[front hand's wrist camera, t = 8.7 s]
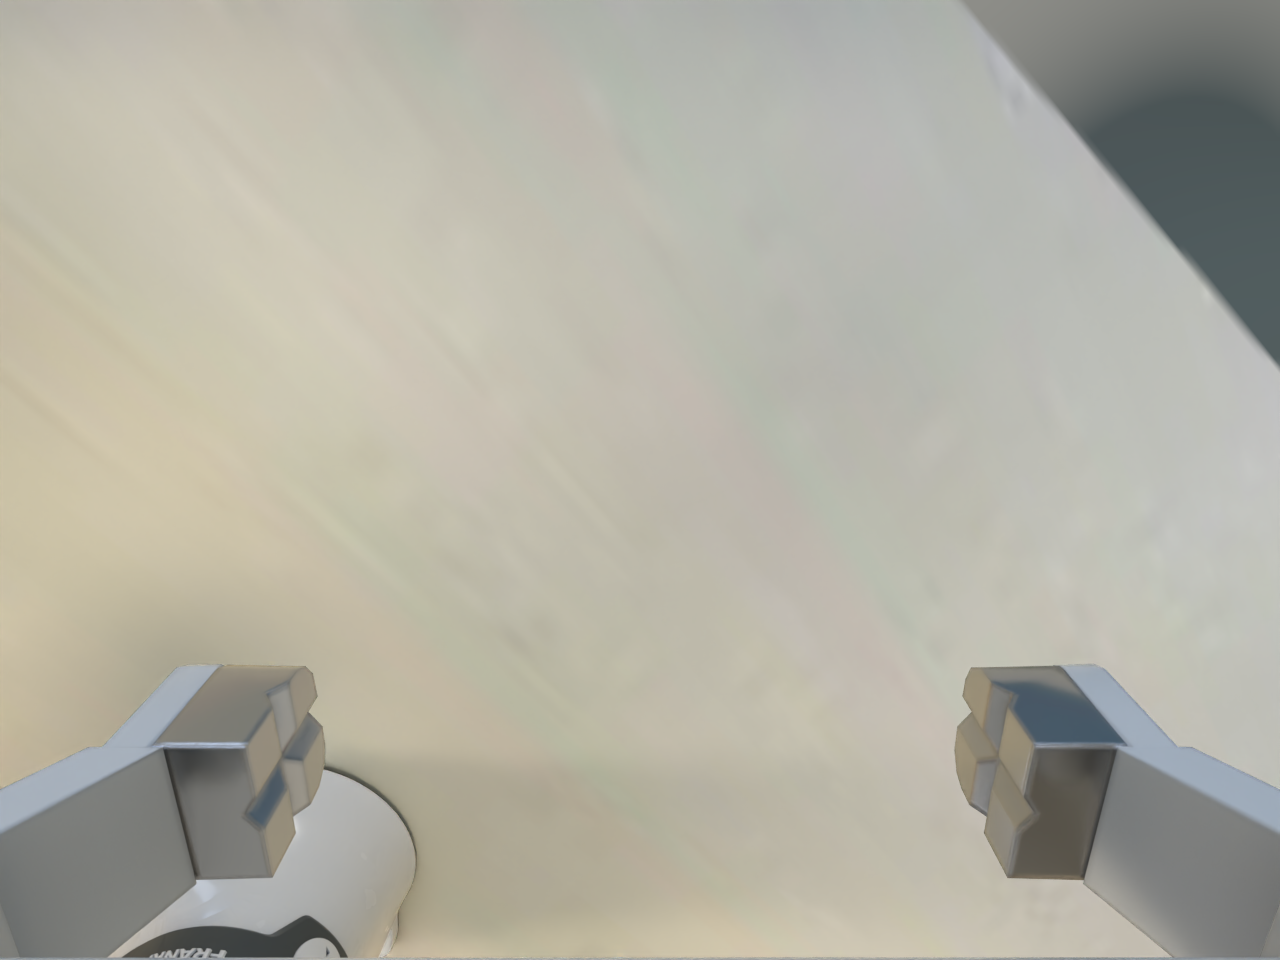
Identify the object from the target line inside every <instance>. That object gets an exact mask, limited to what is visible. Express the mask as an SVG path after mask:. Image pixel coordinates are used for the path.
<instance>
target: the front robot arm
mask: <svg viewBox="0 0 1280 960" xmlns="http://www.w3.org/2000/svg"><path fill="white" fill-rule="evenodd" d="M316 698H317V691H316V686H315V681H314V677H313V673H312V672H311V671H310V670H309V669H308V668H307V667H306V666H267V665H222V664H203V665H184V666H181V667H177V668H176V669H175V670H174V671H173V672H172V673H171V674H170V675H169V676H168V677H167V678H166V679H165V680H164V681H163V682H162V684H161V685H160V686H159V687H158V688H157V689H156V690H155V691H154V692H153V693H152V694H151V695H150V696H149V697H148V699H147V700H146V701H145V702H144V703H143V704H142V705H141V706H140V707H139V708H138V709H137V710H136V711H135V712H134V714H133V715H132V716H131V717H130V718H129V719H128V720H127V721H126V722H125V723H124V724H123V725H122V726H121V727H120V728H119V730H118V731H117V732H116V733H115V734H114V735H113V736H112V737H111V738H110V739H109V740H108V741H107V742H106V743H105V745H104V746H103V747H88V748H86V749H84V750H82V751H79V752H77V753H75V754H73V755H71V756H69V757H67V758H65V759H63V760H61V761H59V762H57V763H54V764H52V765H50V766H48V767H46V768H44V769H42V770H40V771H38V772H36V773H34V774H32V775H29V776H27V777H25V778H23V779H21V780H19V781H17V782H15V783H13V784H11V785H9V786H6V787H4V788H2V789H0V960H1280V789H1277V788H1275V787H1273V786H1271V785H1269V784H1267V783H1265V782H1263V781H1261V780H1259V779H1257V778H1255V777H1253V776H1250V775H1248V774H1246V773H1244V772H1242V771H1240V770H1238V769H1236V768H1234V767H1232V766H1230V765H1228V764H1225V763H1223V762H1221V761H1219V760H1217V759H1215V758H1213V757H1211V756H1209V755H1207V754H1205V753H1203V752H1201V751H1198V750H1196V749H1194V748H1192V747H1177V746H1176V744H1175V743H1174V742H1173V741H1172V740H1171V739H1170V738H1169V737H1168V736H1167V735H1166V734H1165V733H1164V732H1163V731H1162V729H1161V728H1160V727H1159V726H1158V725H1157V724H1156V723H1155V722H1154V721H1153V720H1152V719H1151V718H1150V717H1149V716H1148V714H1147V713H1146V712H1145V711H1144V710H1143V709H1142V708H1141V707H1140V706H1139V705H1138V704H1137V703H1136V702H1135V701H1134V700H1133V698H1132V697H1131V696H1130V695H1129V694H1128V693H1127V692H1126V691H1125V690H1124V689H1123V688H1122V687H1121V686H1120V685H1119V683H1118V682H1117V681H1116V680H1115V679H1114V678H1113V677H1112V676H1111V675H1110V674H1109V673H1108V672H1107V671H1106V670H1105V669H1104V668H1102V667H1100V666H1098V665H1095V664H1077V665H1053V666H1023V667H974V668H971V669H970V671H969V673H968V675H967V677H966V679H965V685H964V690H963V698H964V700H965V701H966V703H967V705H968V706H969V708H970V710H971V711H972V712H971V713H970V714H969V715H968V716H967V717H966V718H965V719H964V720H963V721H962V722H961V723H960V724H959V725H958V726H957V734H956V742H955V760H956V771H957V775H958V778H959V782H960V785H961V789H962V791H963V793H964V795H965V797H966V799H967V801H968V803H969V805H971V806H972V807H973V808H975V809H976V810H978V811H979V812H981V813H982V814H984V815H985V816H986V817H987V819H986V824H985V830H984V834H985V836H986V838H987V840H988V842H989V844H990V845H991V847H992V849H993V851H994V853H995V855H996V857H997V859H998V861H999V863H1000V864H1001V866H1002V868H1003V870H1004V872H1005V874H1006V876H1007V878H1029V879H1064V880H1084V882H1083V884H1084V885H1086V886H1087V887H1088V888H1089V889H1090V890H1092V891H1093V892H1094V893H1095V894H1097V895H1098V896H1099V897H1100V898H1101V899H1103V900H1104V901H1105V902H1106V903H1107V904H1109V905H1110V906H1111V907H1112V908H1114V909H1115V910H1116V911H1117V912H1118V913H1120V914H1121V915H1122V916H1123V917H1125V918H1126V919H1127V920H1128V921H1129V922H1131V923H1132V924H1133V925H1134V926H1135V927H1137V928H1138V929H1139V930H1140V931H1142V932H1143V933H1144V934H1145V935H1146V936H1148V937H1149V938H1150V939H1151V940H1153V941H1154V942H1155V943H1156V944H1157V945H1159V946H1160V947H1161V948H1162V949H1163V950H1165V951H1166V952H1167V953H1168V954H1170V955H1171V956H1172V957H1165V958H861V957H727V958H381V957H384V956H386V955H387V954H389V953H390V951H391V949H392V947H393V945H394V943H395V940H396V938H397V934H398V910H399V908H400V906H401V905H402V903H403V901H404V899H405V897H406V895H407V894H408V892H409V890H410V888H411V885H412V883H413V879H414V876H415V869H416V856H415V850H414V846H413V842H412V839H411V837H410V834H409V832H408V830H407V828H406V826H405V825H404V823H403V822H402V820H401V819H400V817H399V816H398V815H397V813H396V812H395V811H394V810H393V809H392V808H391V807H390V806H389V805H388V804H387V803H386V802H385V801H384V800H383V799H382V798H381V797H379V796H378V795H377V794H375V793H374V792H373V791H371V790H370V789H368V788H367V787H365V786H363V785H362V784H360V783H358V782H356V781H354V780H352V779H350V778H347V777H345V776H343V775H340V774H337V773H334V772H331V771H328V770H324V764H325V740H324V733H323V726H322V725H321V724H320V723H319V722H318V721H317V720H316V719H315V718H314V717H313V716H312V715H311V714H310V713H309V712H308V711H309V710H310V708H311V706H312V705H313V703H314V701H315V700H316Z"/></svg>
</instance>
